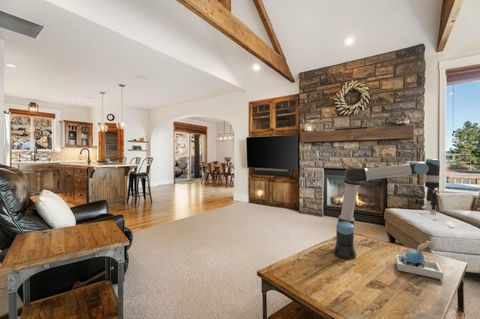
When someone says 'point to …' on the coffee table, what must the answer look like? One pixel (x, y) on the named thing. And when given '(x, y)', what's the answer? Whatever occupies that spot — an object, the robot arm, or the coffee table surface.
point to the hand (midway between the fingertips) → (430, 212)
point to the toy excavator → (416, 255)
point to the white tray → (429, 268)
